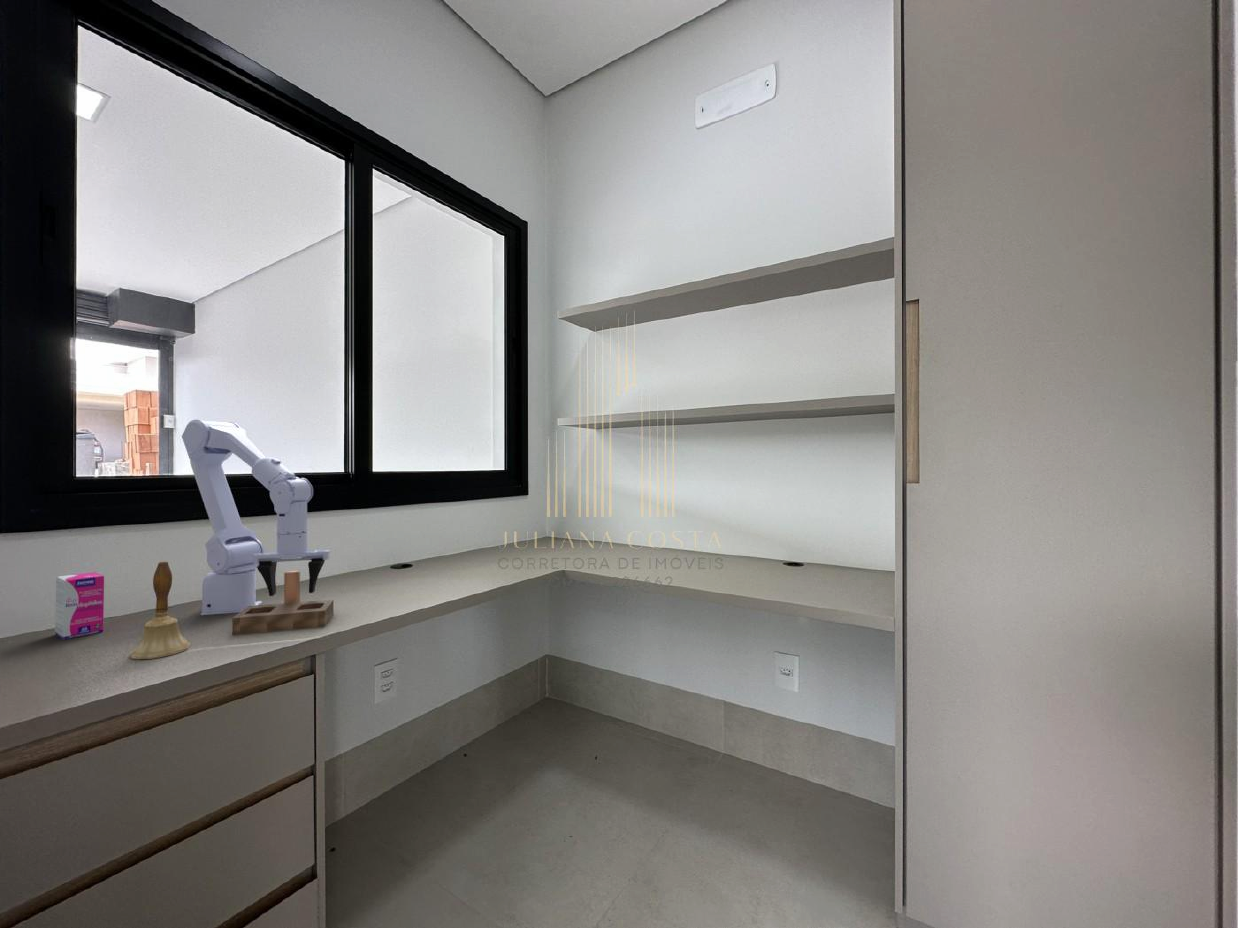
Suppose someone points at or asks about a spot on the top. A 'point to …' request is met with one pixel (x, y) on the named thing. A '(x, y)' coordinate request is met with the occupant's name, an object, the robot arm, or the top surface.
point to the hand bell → (161, 623)
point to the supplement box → (79, 605)
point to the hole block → (282, 617)
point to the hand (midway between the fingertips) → (292, 593)
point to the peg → (292, 586)
